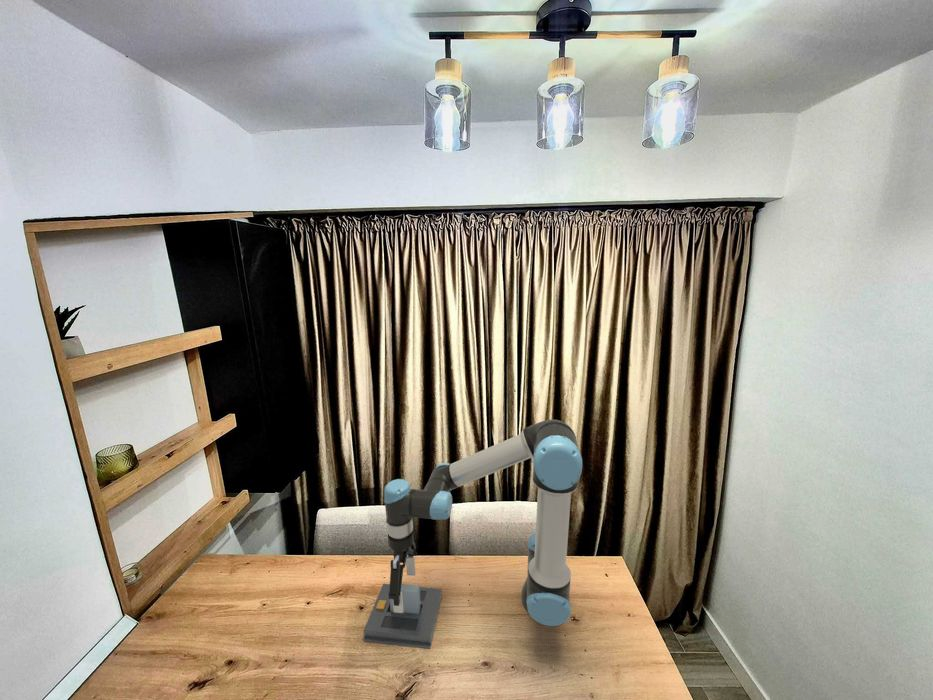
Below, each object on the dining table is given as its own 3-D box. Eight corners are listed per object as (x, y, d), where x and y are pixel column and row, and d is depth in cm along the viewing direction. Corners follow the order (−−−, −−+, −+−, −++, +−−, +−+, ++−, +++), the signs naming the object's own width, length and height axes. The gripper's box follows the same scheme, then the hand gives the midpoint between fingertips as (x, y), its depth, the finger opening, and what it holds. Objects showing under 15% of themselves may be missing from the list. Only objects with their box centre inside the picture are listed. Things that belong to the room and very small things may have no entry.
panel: (420, 612, 116) (419, 585, 114) (419, 619, 113) (417, 592, 111) (393, 609, 117) (391, 582, 115) (390, 616, 115) (389, 589, 113)
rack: (442, 595, 123) (441, 585, 122) (430, 648, 105) (429, 637, 105) (384, 590, 125) (383, 580, 125) (363, 641, 108) (362, 630, 107)
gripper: (400, 505, 122) (405, 560, 126) (372, 562, 98) (379, 628, 102) (422, 506, 121) (426, 562, 125) (400, 563, 97) (405, 630, 101)
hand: (405, 592), depth 113 cm, fingers open, 13 cm apart
